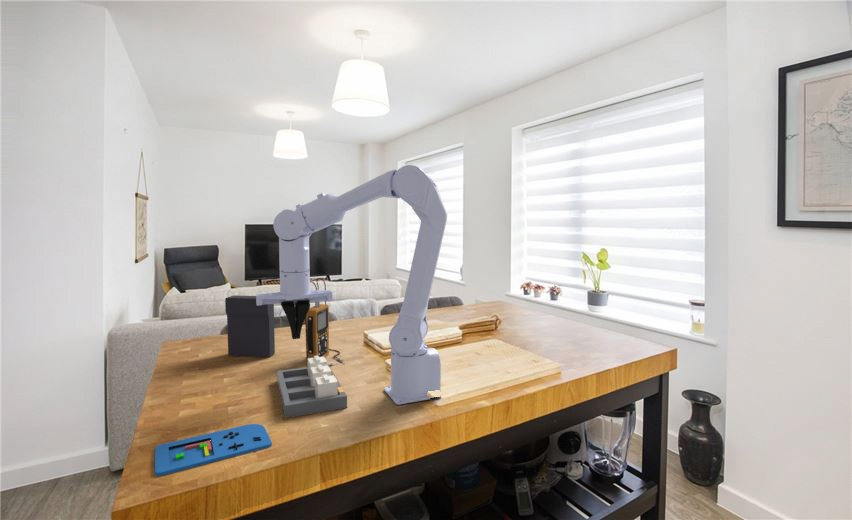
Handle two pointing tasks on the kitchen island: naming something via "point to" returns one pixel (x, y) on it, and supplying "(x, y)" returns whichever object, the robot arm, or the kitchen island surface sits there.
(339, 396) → the switch bank
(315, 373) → the tab
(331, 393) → the tab
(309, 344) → the multimeter
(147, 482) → the kitchen island surface
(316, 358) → the tab
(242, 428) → the handheld gaming device
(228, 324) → the dark gray lidded box
